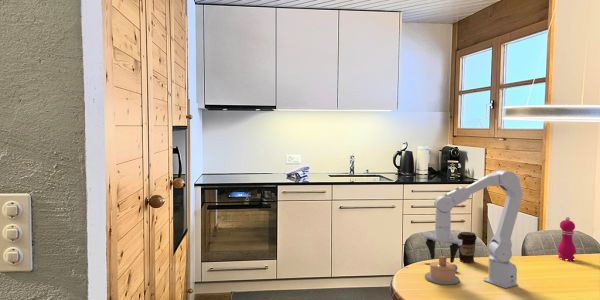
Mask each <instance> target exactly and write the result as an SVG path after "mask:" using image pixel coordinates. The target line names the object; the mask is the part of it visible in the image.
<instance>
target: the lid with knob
mask: <svg viewBox="0 0 600 300" xmlns="http://www.w3.org/2000/svg"><path fill="white" fill-rule="evenodd" d="M446 262H447V256H444V255H439V256H438V261H432V262H430V264H429V272H430V275H431V278H434V279H437V280H442V281H451V280H454V279H455V276H456V271H455V265H456V264H455V265H453V264H454V263H450V262H449V263H446Z"/></svg>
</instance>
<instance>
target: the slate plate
mask: <svg viewBox="0 0 600 300" xmlns="http://www.w3.org/2000/svg"><path fill="white" fill-rule="evenodd" d="M424 278H425V280H426V281H428V282H430V283H432V284H436V285H440V286H441V285H442V286H454V285H458V284H459V283H460V277H459V276H457V275H455V279H454V280H451V281H442V280H437V279H434V278H431V275H430V271H429V272H426V273H425V274H424Z"/></svg>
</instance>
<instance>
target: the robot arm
mask: <svg viewBox="0 0 600 300" xmlns="http://www.w3.org/2000/svg"><path fill="white" fill-rule="evenodd" d="M490 186H491V187H499V188H501V189H502V190H503V192H504V193H505V195H506V196H505V197H506V198H505V201H504V205H503V208H502V211H501V215H500V219H499V222H498V225H497V228H496V232H495V234H494V235H493V236H492V238H491V240H490V241H489V242H488V243H487V246H486V248H487V251H488V253H489V256H488V277H486V278H483V281H484V282H486V283H490V284H493V285H495V286H498V287H501V288H503V289H506V288H511V287H514V286H517V285H519V284H518V283H517V279H518V278H517V276H518V275H517V272H518V268H517V266H516V264H514V263H512V262H511V261H510V260H511V259H512V256H513V252H512V247H513V245H512V240H511V239H512V235H513V231H514V227H515V225H516V220H517V218H518V213H519V209H520V207H521V203H522V199H523V196H524V194H523V193H524V192H523V190H522V187H521V179H520V177H519V176H518V175H517V174H516V173H515V172H513V171H509V170H504V169H497V170H495V171H492V172H490V173H488V174H487V175H486V174H485V176H483V177H481V178H480V179H478V180H476V181H474V182H473V183H470V184H469V185H467V186H466V187H465V186H455V187H454V190H451V191H449V192H445V193H443V195H439V196H437V197H436V198H435V200H434V202H433V204H434V207H435V217H434V218H435V224H434V225H435V227H434V228H435V229H434V231H435V232H434V233H435V234H428V233H427V234H424V235H423V240H424V241H425V245H426V246H427V249H428V251H429V255H430V259H431V260H434V259H435V256H436V253H435V252H436V242H438V243H444V244H449V250H450V262H449V263H450V264H454V262H455V257H456V254H457V252H458V251H459V247H460V246H461V245H462V240H460V239H458V238H456V237H455V238H454V237H451V227H452V225H451V219H452V217H451V211H452V210H453V207H456V206H458V205H460V204H462V203H464V202H466V201H468V200H469V199H470V196H471V195H473V194H475V193H478V192H479V191H482V190H484V189H486V188H487V187H488V188H489V187H490Z"/></svg>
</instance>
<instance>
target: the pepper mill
mask: <svg viewBox="0 0 600 300" xmlns="http://www.w3.org/2000/svg"><path fill="white" fill-rule="evenodd" d="M564 219H565V220H562V221H561V222H560V223H559V228H560V233H561V239H560V242H559V244H558V246H557V251H558V253H559V254H558V259H559V258H562V259H568V260H573V259H576V258H575V257H576V256H575V255H576V253H577V249H576V246H575V244H574V242H573V235H574V230H575V229H576V225H575V222H574V221H572V220H570V219H571V218H570V217H569V216H566V217H565V218H564Z"/></svg>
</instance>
